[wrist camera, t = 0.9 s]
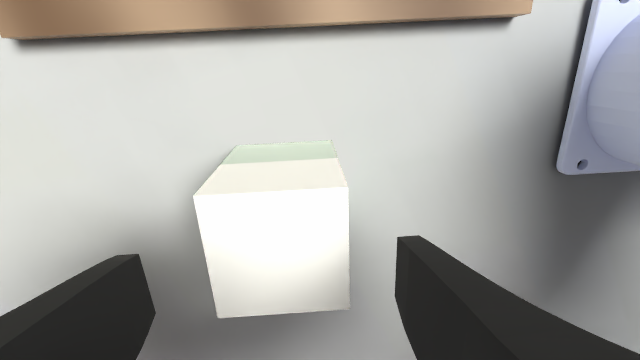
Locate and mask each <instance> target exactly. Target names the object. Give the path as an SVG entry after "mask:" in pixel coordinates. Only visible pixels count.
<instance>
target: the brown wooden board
mask: <svg viewBox="0 0 640 360" xmlns="http://www.w3.org/2000/svg"><path fill="white" fill-rule="evenodd" d="M532 3H533V0H0V35H1V37H2V38H10V39H21V40H30V39H52V38H73V37H95V36H116V35H138V34H159V33H181V32H202V31H224V30H245V29H267V28H288V27H310V26H331V25H353V24H374V23H396V22H417V21H439V20H460V19H481V18H503V17H517V16H521V15H525V14H530V13H531V9H532Z"/></svg>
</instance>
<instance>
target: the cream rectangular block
mask: <svg viewBox="0 0 640 360" xmlns="http://www.w3.org/2000/svg"><path fill="white" fill-rule="evenodd" d="M193 198H194V203H195V208H196V213H197V218H198V223H199V228H200V233H201V238H202V243H203V248H204V253H205V258H206V263H207V267H208V272H209V277H210V282H211V287H212V292H213V297H214V302H215V307H216V312H217V317H218V318H230V317H245V316H259V315H274V314H288V313H303V312H317V311H332V310H346V309H350V274H349V214H348V185H347V183H346V180H345V177H344V174H343V171H342V168H341V165H340V162H339V160H338V157H337V154H336V151H335V148H334V145H333V142H332V140H326V141H308V142H290V143H272V144H254V145H237V146H236V147H235V148H234V149H233V150H232V151H231V153H230V154H229V155H228V156H227V157H226V158H225V160H224V161H223V162H222V163H221V164H220V165H219V167H218V168H217V169H216V170H215V171H214V172H213V174H212V175H211V176H210V177H209V178H208V179H207V180H206V182H205V183H204V184H203V185H202V186H201V187H200V189H199V190H198V191H197V192H196V193H195V194H194V196H193Z"/></svg>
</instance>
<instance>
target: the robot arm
mask: <svg viewBox="0 0 640 360" xmlns="http://www.w3.org/2000/svg"><path fill="white" fill-rule="evenodd" d="M579 161H581V163H580V165H579V166H578V167H577V164H578V162H579ZM556 168H557V170H558V171H559V172H561V173H563V174H566V175H576V174H593V173H610V172H626V171H640V0H621V2H620V1H619V0H593V2H592V7H591V11H590V16H589V20H588V24H587V29H586V33H585V38H584V42H583V47H582V51H581V56H580V60H579V65H578V69H577V74H576V78H575V83H574V87H573V92H572V96H571V101H570V105H569V110H568V114H567V119H566V123H565V128H564V132H563V137H562V141H561V146H560V150H559V155H558V159H557V164H556ZM395 298H396V302H397V305H398V309H399V313H400V316H401V319H402V323H403V326H404V329H405V332H406V334H407V337H408V339H409V342H410V344H411V346H412V349H413V351H414V353H415V356H416V358H417V360H640V354H638V353H636V352H633V351H631V350H629V349H626V348H624V347H621V346H619V345H617V344H614V343H612V342H610V341H607V340H605V339H603V338H601V337H598V336H596V335H594V334H592V333H590V332H587V331H585V330H583V329H581V328H579V327H577V326H575V325H573V324H571V323H569V322H566V321H564V320H562V319H560V318H558V317H556V316H554V315H552V314H550V313H548V312H546V311H544V310H542V309H540V308H538V307H536V306H534V305H533V304H531V303H529V302H527V301H525V300H523V299H521V298H520V297H518V296H516V295H514V294H513V293H511V292H509V291H507V290H506V289H504V288H502V287H500V286H499V285H497V284H495V283H494V282H492V281H490V280H489V279H487V278H485V277H484V276H482V275H480V274H479V273H477V272H475V271H474V270H472V269H471V268H469V267H468V266H466V265H464V264H463V263H461V262H460V261H458V260H457V259H455V258H454V257H452V256H451V255H449V254H448V253H446V252H445V251H443V250H441V249H440V248H438V247H437V246H435V245H434V244H432V243H431V242H429V241H428V240H426V239H424V238H422V237H421V236H404V237H397V259H396V282H395ZM155 314H156V313H155V309H154V306H153V302H152V299H151V295H150V292H149V288H148V285H147V281H146V278H145V274H144V271H143V267H142V264H141V260H140V257H139V254H132V255H117V256H114V257H112V258H109V259H107V260H105V261H103V262H101V263H99V264H97V265H95V266H93V267H91V268H89V269H87V270H85V271H83V272H82V273H80V274H78V275H76V276H74V277H72V278H71V279H69V280H67V281H65V282H63V283H61V284H60V285H58V286H56V287H54V288H52V289H51V290H49V291H47V292H45V293H43V294H41V295H40V296H38V297H36V298H34V299H32V300H31V301H29V302H27V303H25V304H23V305H21V306H19V307H18V308H16V309H14V310H12V311H10V312H8V313H6V314H4V315H2V316H0V360H136V358H137V356H138V354H139V353H140V351H141V349H142V346H143V344H144V342H145V339H146V337H147V334H148V332H149V329H150V327H151V324H152V321H153V319H154V316H155Z"/></svg>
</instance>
